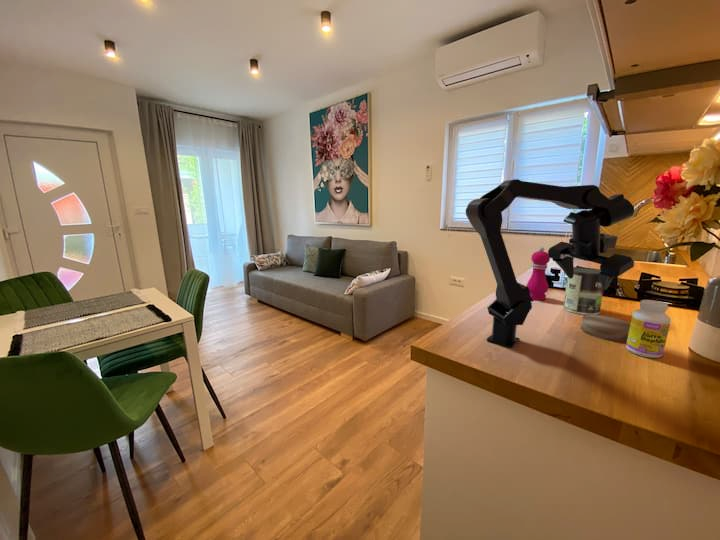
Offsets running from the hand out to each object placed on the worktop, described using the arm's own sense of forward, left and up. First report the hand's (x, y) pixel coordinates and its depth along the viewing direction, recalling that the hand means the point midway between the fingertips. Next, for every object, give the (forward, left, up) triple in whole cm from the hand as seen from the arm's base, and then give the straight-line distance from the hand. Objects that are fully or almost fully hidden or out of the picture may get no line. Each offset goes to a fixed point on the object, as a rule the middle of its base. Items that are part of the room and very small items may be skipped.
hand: (587, 283), depth 83 cm
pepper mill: (+24, +18, -14) cm, 34 cm away
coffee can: (+20, +3, -14) cm, 25 cm away
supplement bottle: (-5, -14, -14) cm, 20 cm away
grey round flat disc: (+3, -5, -14) cm, 16 cm away
